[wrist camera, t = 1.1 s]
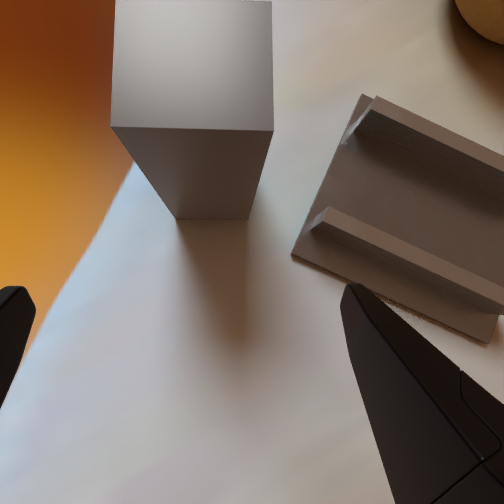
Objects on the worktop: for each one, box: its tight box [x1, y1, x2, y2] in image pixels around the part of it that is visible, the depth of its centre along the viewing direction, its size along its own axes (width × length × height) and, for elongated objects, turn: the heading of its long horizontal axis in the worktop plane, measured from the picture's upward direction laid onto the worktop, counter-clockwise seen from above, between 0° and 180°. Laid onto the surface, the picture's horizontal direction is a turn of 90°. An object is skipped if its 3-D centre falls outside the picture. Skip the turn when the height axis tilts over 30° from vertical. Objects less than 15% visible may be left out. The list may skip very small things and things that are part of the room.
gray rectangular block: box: [110, 0, 274, 219], centre depth 17 cm, size 5×5×13 cm
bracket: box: [291, 94, 504, 344], centre depth 23 cm, size 13×15×4 cm
